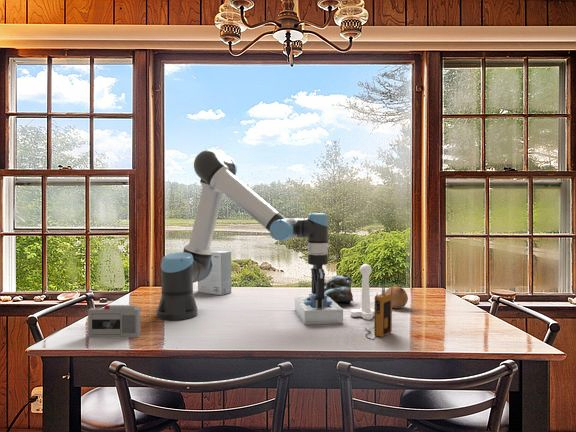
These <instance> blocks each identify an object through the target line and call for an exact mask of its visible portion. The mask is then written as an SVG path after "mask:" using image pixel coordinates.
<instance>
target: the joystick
mask: <svg viewBox="0 0 576 432" xmlns="http://www.w3.org/2000/svg"><path fill="white" fill-rule="evenodd" d="M359 272H360V274H361V276H362V280H361V281H362V283H361V298H360V308H357V309H356V308H355V309H350V317H354V318H355V317H361V318H362V319H363V320H372V319H373V318H374V308H371V297H370V296H371V295H370V274H372V272H373V271H372V266H371V265H369V264H368V263H364V264H362V265H360V267H359Z"/></svg>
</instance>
